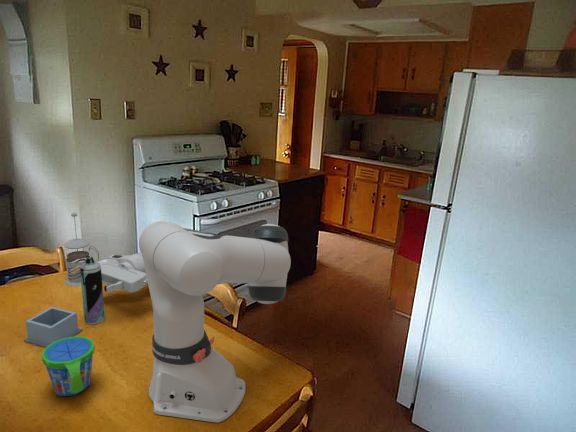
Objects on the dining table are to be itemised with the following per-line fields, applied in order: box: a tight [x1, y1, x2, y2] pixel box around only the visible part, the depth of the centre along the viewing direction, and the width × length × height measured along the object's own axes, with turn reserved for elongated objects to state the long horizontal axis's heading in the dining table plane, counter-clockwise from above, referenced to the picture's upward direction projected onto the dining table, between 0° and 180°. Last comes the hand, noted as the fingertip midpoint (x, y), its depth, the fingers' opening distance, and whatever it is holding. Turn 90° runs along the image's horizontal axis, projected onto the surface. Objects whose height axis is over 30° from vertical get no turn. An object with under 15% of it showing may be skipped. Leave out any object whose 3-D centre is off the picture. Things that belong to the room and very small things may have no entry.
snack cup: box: [41, 335, 95, 397], centre depth 96 cm, size 16×10×10 cm
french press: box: [63, 212, 100, 287], centre depth 146 cm, size 10×12×25 cm
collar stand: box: [23, 306, 83, 349], centre depth 115 cm, size 10×10×6 cm
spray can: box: [79, 256, 106, 326], centre depth 122 cm, size 6×6×20 cm
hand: (94, 285), depth 122 cm, fingers open, 8 cm apart
